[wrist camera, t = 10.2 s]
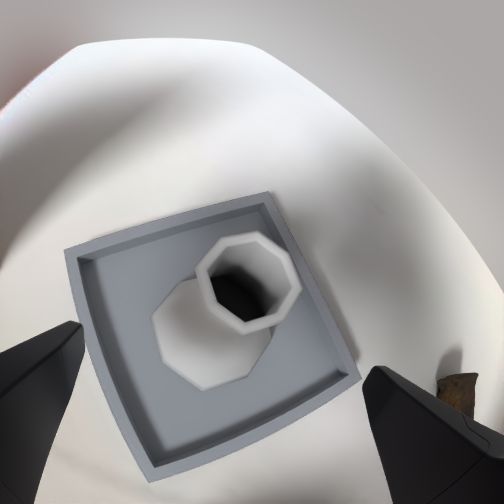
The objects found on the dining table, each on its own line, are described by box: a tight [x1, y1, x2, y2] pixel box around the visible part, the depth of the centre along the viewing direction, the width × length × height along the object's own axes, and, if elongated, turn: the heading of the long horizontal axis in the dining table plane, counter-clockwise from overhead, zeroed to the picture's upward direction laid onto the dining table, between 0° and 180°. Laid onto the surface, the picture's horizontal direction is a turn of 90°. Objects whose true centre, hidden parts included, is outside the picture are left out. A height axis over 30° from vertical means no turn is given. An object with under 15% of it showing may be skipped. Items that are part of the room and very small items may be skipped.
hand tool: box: [437, 373, 478, 420], centre depth 15 cm, size 19×4×5 cm, turn 173°
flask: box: [150, 230, 303, 391], centre depth 13 cm, size 7×7×10 cm
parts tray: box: [64, 191, 362, 483], centre depth 17 cm, size 15×15×2 cm
